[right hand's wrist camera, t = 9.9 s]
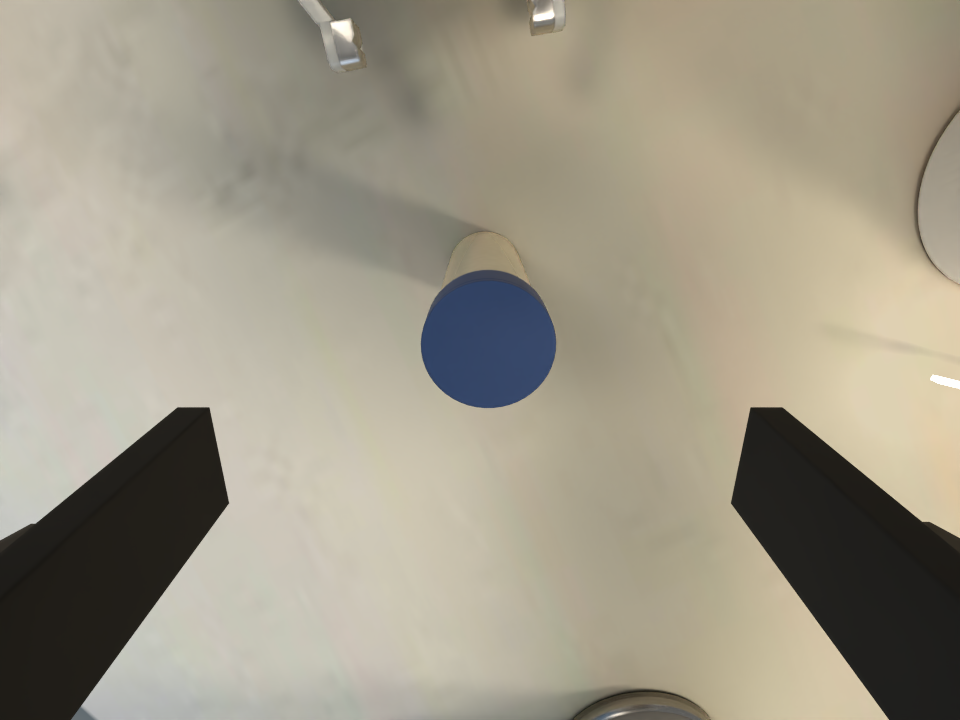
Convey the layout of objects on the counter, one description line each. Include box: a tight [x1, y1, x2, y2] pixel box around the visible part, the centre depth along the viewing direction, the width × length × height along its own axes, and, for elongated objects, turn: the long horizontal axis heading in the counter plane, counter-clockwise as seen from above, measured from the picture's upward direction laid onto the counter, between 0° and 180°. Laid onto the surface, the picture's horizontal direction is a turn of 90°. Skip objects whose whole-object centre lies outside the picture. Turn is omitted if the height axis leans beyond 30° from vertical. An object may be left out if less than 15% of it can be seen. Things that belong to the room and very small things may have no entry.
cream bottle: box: [440, 232, 531, 291], centre depth 27 cm, size 5×5×16 cm
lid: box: [421, 270, 556, 408], centre depth 21 cm, size 5×5×2 cm
